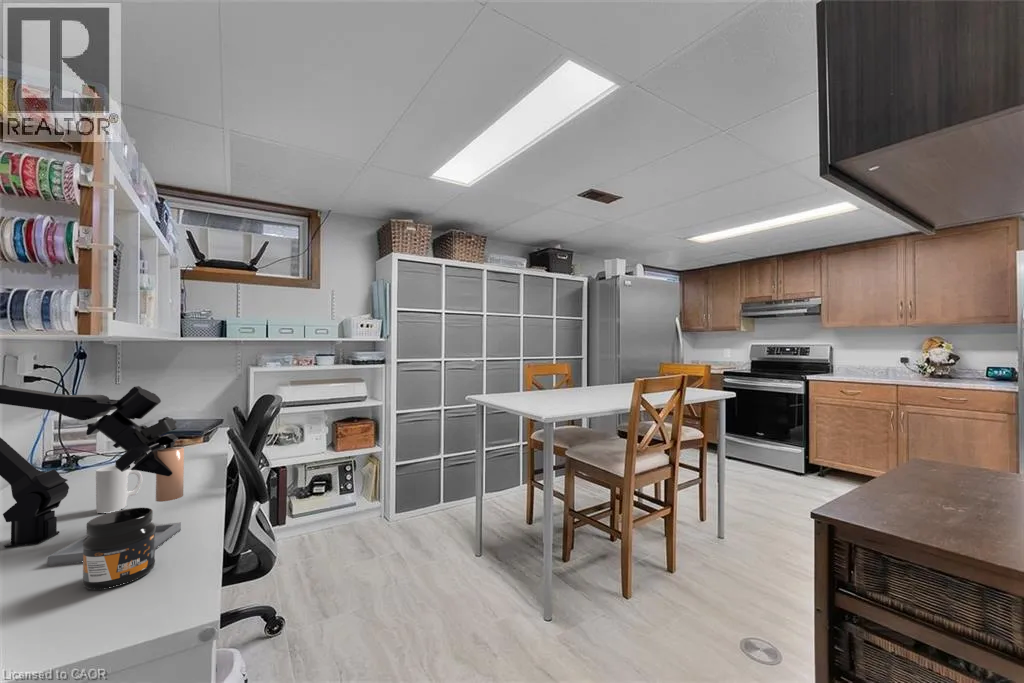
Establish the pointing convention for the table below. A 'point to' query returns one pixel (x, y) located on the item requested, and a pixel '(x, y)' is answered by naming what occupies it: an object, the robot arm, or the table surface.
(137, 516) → the supplement container
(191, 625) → the table surface
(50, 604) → the table surface
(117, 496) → the mug
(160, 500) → the terracotta cup
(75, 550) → the charcoal tray
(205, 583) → the table surface
